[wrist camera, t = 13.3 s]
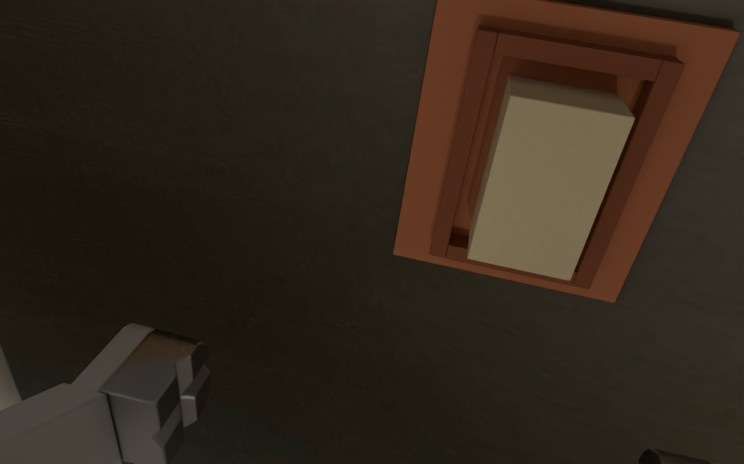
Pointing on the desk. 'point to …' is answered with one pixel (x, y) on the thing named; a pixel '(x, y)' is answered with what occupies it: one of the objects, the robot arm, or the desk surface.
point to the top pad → (546, 175)
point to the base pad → (564, 66)
